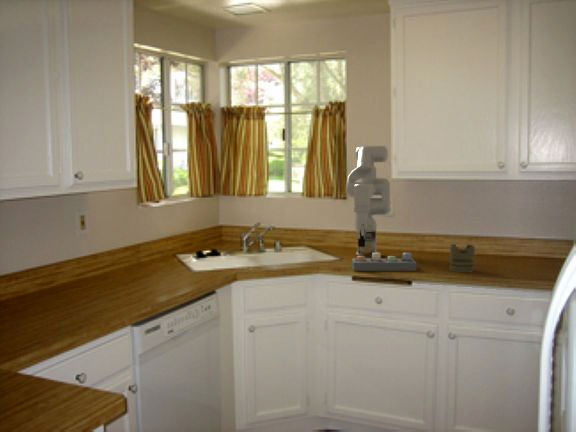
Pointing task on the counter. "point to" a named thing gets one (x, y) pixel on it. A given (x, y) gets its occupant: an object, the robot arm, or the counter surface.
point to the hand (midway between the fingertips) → (361, 246)
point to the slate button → (406, 256)
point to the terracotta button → (360, 258)
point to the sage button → (391, 258)
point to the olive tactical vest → (462, 258)
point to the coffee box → (368, 244)
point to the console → (384, 265)
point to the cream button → (376, 256)
